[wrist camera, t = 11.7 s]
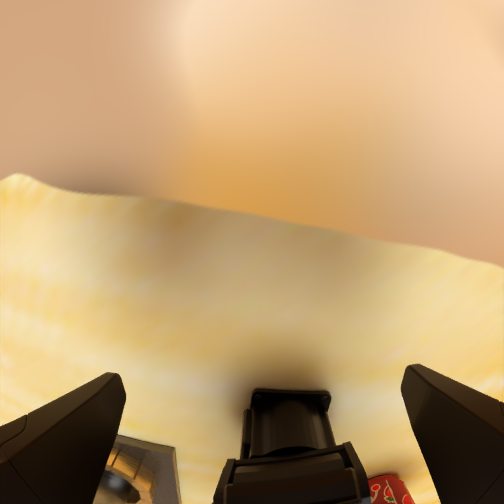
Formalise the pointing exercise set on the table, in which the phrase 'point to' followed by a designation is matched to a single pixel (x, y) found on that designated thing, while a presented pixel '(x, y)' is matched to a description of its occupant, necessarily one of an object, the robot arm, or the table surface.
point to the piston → (112, 489)
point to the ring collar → (146, 470)
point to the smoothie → (389, 491)
